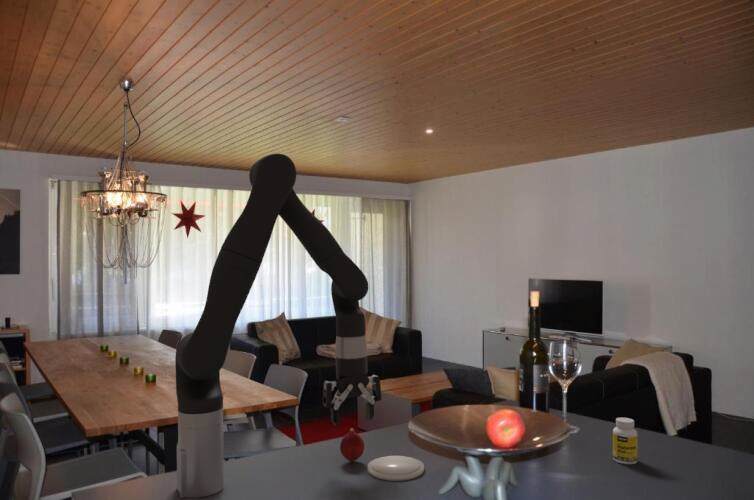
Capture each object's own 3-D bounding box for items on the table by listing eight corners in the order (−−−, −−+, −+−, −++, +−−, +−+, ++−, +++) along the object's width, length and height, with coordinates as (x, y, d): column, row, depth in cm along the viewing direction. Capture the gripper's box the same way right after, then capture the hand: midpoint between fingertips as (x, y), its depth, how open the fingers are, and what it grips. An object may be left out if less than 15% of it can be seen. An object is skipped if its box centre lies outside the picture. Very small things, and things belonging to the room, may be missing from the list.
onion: (368, 464, 138) (367, 430, 138) (344, 468, 136) (344, 433, 136) (359, 456, 144) (359, 424, 144) (337, 459, 142) (336, 426, 142)
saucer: (383, 484, 126) (383, 478, 126) (358, 465, 138) (358, 459, 138) (434, 474, 132) (434, 468, 132) (407, 456, 144) (407, 451, 144)
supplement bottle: (614, 464, 137) (614, 422, 137) (611, 456, 142) (610, 415, 142) (639, 465, 136) (639, 423, 136) (635, 457, 141) (634, 417, 141)
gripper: (329, 360, 133) (330, 431, 134) (385, 353, 140) (386, 421, 140) (317, 354, 140) (319, 422, 140) (371, 349, 146) (373, 413, 147)
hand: (353, 421), depth 140 cm, fingers open, 8 cm apart
